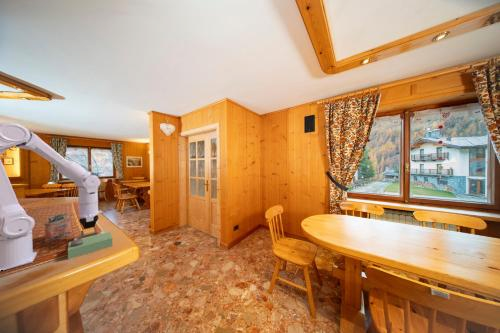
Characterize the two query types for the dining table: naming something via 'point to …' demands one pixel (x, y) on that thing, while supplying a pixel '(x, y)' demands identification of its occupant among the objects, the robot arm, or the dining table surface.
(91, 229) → the grey box orange face
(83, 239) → the deck
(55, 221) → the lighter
